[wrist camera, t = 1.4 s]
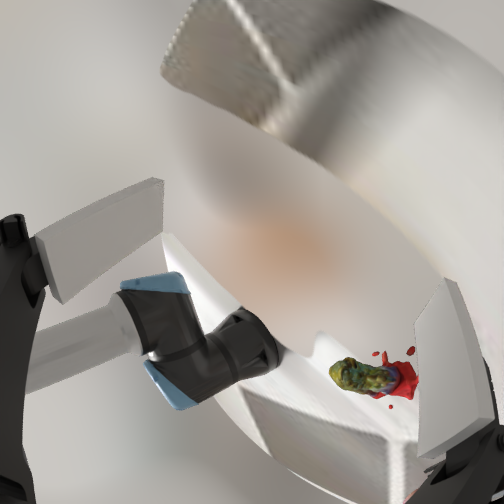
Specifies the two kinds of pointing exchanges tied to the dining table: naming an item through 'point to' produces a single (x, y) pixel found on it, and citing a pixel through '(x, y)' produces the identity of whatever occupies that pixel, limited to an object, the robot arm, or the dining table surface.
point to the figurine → (376, 377)
